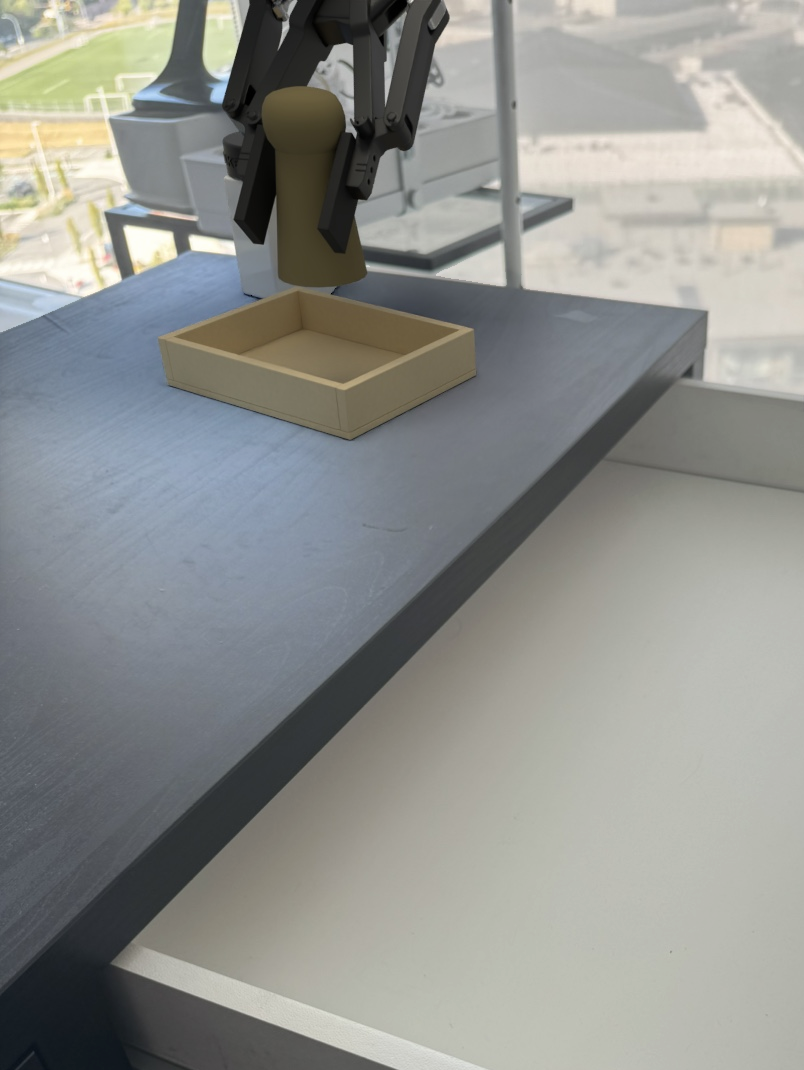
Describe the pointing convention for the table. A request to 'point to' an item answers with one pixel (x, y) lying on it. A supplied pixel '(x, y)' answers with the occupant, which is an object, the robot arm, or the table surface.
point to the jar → (251, 258)
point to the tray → (319, 360)
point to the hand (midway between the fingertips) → (289, 236)
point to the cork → (307, 186)
